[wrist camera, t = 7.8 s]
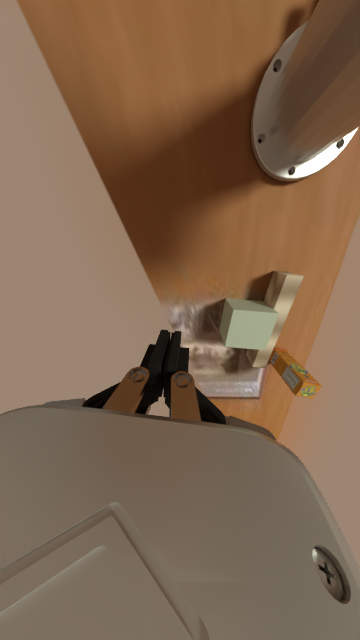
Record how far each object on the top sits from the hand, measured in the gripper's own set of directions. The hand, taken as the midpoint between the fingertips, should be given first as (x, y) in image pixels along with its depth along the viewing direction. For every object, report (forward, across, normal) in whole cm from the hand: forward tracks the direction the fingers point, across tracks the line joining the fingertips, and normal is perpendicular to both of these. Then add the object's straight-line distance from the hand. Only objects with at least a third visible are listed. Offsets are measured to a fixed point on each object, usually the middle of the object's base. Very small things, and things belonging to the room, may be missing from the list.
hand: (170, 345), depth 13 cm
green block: (+18, -12, +5) cm, 22 cm away
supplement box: (+18, -22, +13) cm, 31 cm away
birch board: (+18, -16, +5) cm, 25 cm away
